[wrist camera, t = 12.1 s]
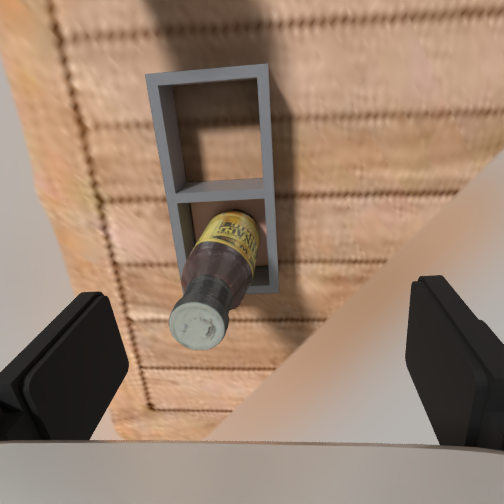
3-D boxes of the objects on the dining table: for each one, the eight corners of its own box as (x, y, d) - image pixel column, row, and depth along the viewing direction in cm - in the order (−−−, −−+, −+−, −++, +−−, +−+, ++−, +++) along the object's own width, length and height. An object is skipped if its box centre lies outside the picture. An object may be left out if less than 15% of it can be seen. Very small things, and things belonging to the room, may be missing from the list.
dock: (268, 67, 36) (267, 63, 31) (278, 272, 45) (279, 292, 40) (161, 76, 37) (144, 74, 32) (192, 275, 46) (183, 295, 41)
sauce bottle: (271, 232, 42) (268, 338, 24) (233, 263, 44) (205, 382, 26) (233, 192, 41) (199, 273, 23) (196, 226, 43) (137, 326, 25)
